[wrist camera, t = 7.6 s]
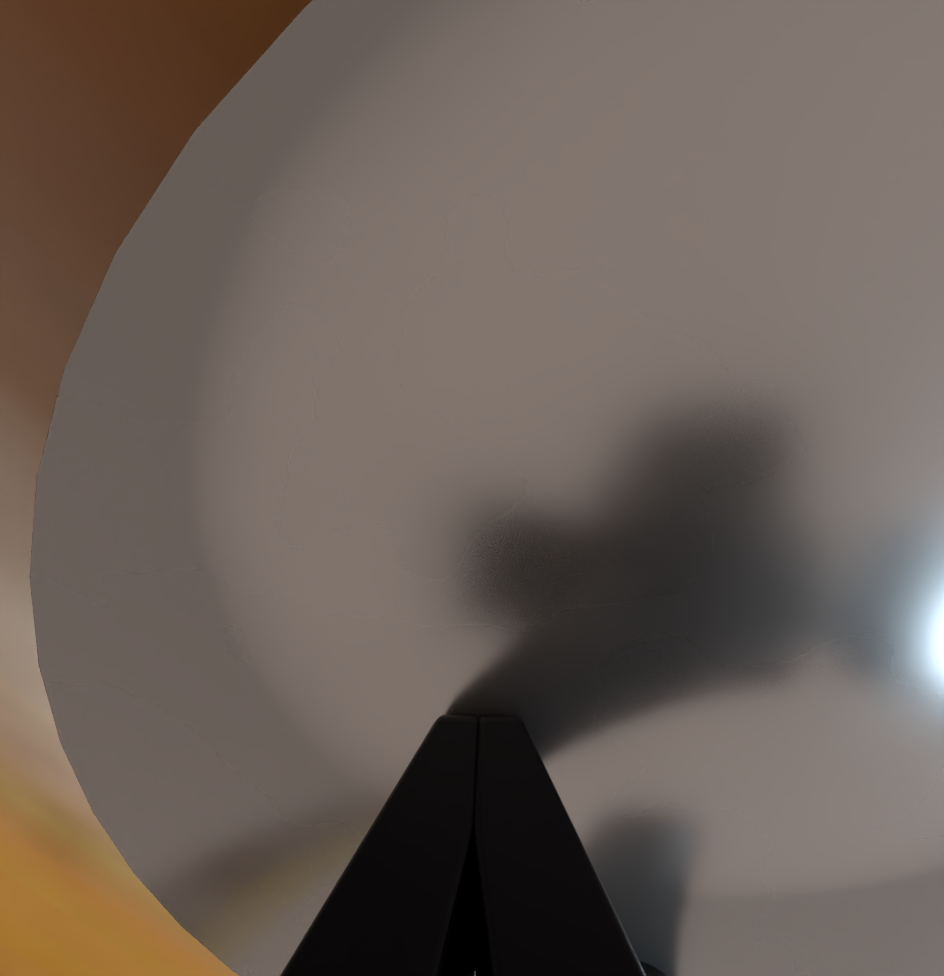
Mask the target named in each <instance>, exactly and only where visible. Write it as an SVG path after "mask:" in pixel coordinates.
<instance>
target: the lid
mask: <svg viewBox="0 0 944 976" xmlns="http://www.w3.org/2000/svg"><path fill="white" fill-rule="evenodd" d="M30 585H31V595H32V604H33V614H34V623H35V633H36V643H37V652H38V662H39V668H40V671H41V675H42V678H43V682H44V685H45V689H46V692H47V696H48V699H49V703H50V706H51V710H52V714H53V717H54V721H55V724H56V728H57V731H58V735H59V738H60V742H61V745H62V747H63V749H64V751H65V753H66V755H67V758H68V760H69V762H70V764H71V766H72V768H73V770H74V772H75V775H76V777H77V779H78V781H79V783H80V785H81V787H82V789H83V792H84V794H85V796H86V798H87V800H88V802H89V804H90V807H91V809H92V811H93V813H94V814H95V816H96V817H97V819H98V820H99V822H100V823H101V825H102V826H103V828H104V829H105V831H106V832H107V834H108V835H109V837H110V838H111V840H112V841H113V843H114V844H115V846H116V847H117V849H118V850H119V852H120V853H121V855H122V856H123V858H124V859H125V861H126V862H127V864H128V865H129V867H130V868H131V870H132V871H133V873H134V874H135V875H136V876H137V877H138V878H139V879H140V881H141V882H142V883H143V884H144V885H145V886H146V887H147V888H148V890H149V891H150V892H151V893H152V894H153V895H154V896H155V897H156V898H157V900H158V901H159V902H160V903H161V904H162V905H163V906H164V907H165V909H166V910H167V911H168V912H169V913H170V914H171V915H172V916H173V918H174V919H175V920H176V921H177V922H178V923H179V924H180V925H181V926H182V927H183V928H184V929H185V930H186V931H187V932H189V933H190V934H191V935H192V936H193V937H194V938H195V939H197V940H198V941H199V942H200V943H201V944H202V945H204V946H205V947H206V948H207V949H208V950H209V951H210V952H212V953H213V954H214V955H215V956H216V957H217V958H218V959H220V960H221V961H222V962H223V963H224V964H225V965H226V966H228V967H229V968H230V969H231V970H232V971H233V972H235V973H236V974H238V975H239V976H280V975H281V973H282V971H283V970H284V968H285V967H286V965H287V963H288V962H289V960H290V958H291V957H292V955H293V953H294V952H295V950H296V949H297V947H298V945H299V944H300V942H301V940H302V939H303V937H304V935H305V934H306V932H307V930H308V929H309V927H310V926H311V924H312V922H313V921H314V919H315V917H316V916H317V914H318V912H319V911H320V909H321V907H322V906H323V904H324V903H325V901H326V899H327V898H328V896H329V894H330V893H331V891H332V889H333V888H334V886H335V884H336V883H337V881H338V880H339V878H340V876H341V875H342V873H343V871H344V870H345V868H346V866H347V865H348V863H349V861H350V860H351V858H352V857H353V855H354V853H355V852H356V850H357V848H358V847H359V845H360V843H361V842H362V840H363V838H364V837H365V835H366V834H367V832H368V830H369V829H370V827H371V825H372V824H373V822H374V820H375V819H376V817H377V815H378V814H379V812H380V811H381V809H382V807H383V806H384V804H385V802H386V801H387V799H388V797H389V796H390V794H391V792H392V791H393V789H394V788H395V786H396V784H397V783H398V781H399V779H400V778H401V776H402V774H403V773H404V771H405V770H406V768H407V766H408V765H409V763H410V761H411V760H412V758H413V756H414V755H415V753H416V751H417V750H418V748H419V747H420V745H421V743H422V742H423V740H424V738H425V737H426V735H427V733H428V732H429V730H430V728H431V727H432V725H433V724H434V722H435V721H436V719H437V718H438V717H439V716H441V715H444V714H458V715H477V716H478V717H482V716H484V715H502V716H517V717H519V718H520V719H521V720H522V721H523V722H524V724H525V726H526V728H527V730H528V732H529V734H530V736H531V738H532V740H533V743H534V745H535V747H536V749H537V751H538V753H539V755H540V757H541V759H542V761H543V763H544V765H545V767H546V769H547V771H548V773H549V776H550V778H551V780H552V782H553V784H554V786H555V788H556V790H557V792H558V794H559V796H560V798H561V800H562V802H563V804H564V806H565V809H566V811H567V813H568V815H569V817H570V819H571V821H572V823H573V825H574V827H575V829H576V831H577V833H578V835H579V837H580V839H581V842H582V844H583V846H584V848H585V850H586V852H587V854H588V856H589V858H590V860H591V862H592V864H593V866H594V868H595V870H596V872H597V875H598V877H599V879H600V881H601V883H602V885H603V887H604V889H605V891H606V893H607V895H608V897H609V899H610V901H611V903H612V905H613V907H614V910H615V912H616V914H617V916H618V918H619V920H620V922H621V924H622V926H623V928H624V930H625V932H626V934H627V936H628V938H629V940H630V943H631V945H632V947H633V949H634V951H635V953H636V955H637V957H638V959H639V961H640V963H641V965H642V967H643V969H644V971H645V973H646V976H944V0H312V1H311V2H310V3H309V4H308V5H306V6H305V8H304V9H303V10H302V11H301V12H300V13H299V14H298V15H297V17H296V18H295V19H294V20H293V21H292V22H291V23H290V24H289V26H288V27H287V28H286V29H285V30H284V31H283V32H282V33H281V34H280V36H279V37H278V38H277V39H276V40H275V41H274V42H273V43H272V45H271V46H270V47H269V48H268V49H267V50H266V51H265V52H264V54H263V55H262V56H261V57H260V58H259V59H258V60H257V61H256V63H255V64H254V65H253V66H252V67H251V68H250V69H249V70H248V72H247V73H246V74H245V75H244V76H243V77H242V78H241V79H240V80H239V82H238V83H237V84H236V85H235V86H234V87H233V88H232V89H231V91H230V92H229V93H228V94H227V95H226V96H225V97H224V98H223V100H222V101H221V102H220V103H219V104H218V105H217V106H216V107H215V109H214V110H213V111H212V112H211V113H210V114H209V115H208V116H207V118H206V119H205V120H204V121H203V122H202V123H201V124H200V125H199V127H198V128H197V129H196V130H195V131H194V133H193V134H192V136H191V137H190V139H189V140H188V142H187V143H186V145H185V147H184V148H183V150H182V151H181V153H180V154H179V156H178V157H177V159H176V160H175V162H174V163H173V165H172V167H171V168H170V170H169V171H168V173H167V174H166V176H165V177H164V179H163V180H162V182H161V184H160V185H159V187H158V188H157V190H156V191H155V193H154V194H153V196H152V197H151V199H150V201H149V202H148V204H147V205H146V207H145V208H144V210H143V211H142V213H141V214H140V216H139V218H138V219H137V221H136V222H135V224H134V225H133V227H132V228H131V230H130V231H129V233H128V234H127V236H126V238H125V239H124V241H123V242H122V244H121V245H120V247H119V248H118V250H117V251H116V253H115V255H114V257H113V260H112V262H111V264H110V266H109V269H108V271H107V273H106V275H105V278H104V280H103V282H102V285H101V287H100V289H99V291H98V294H97V296H96V298H95V301H94V303H93V305H92V307H91V310H90V312H89V314H88V316H87V319H86V321H85V323H84V326H83V328H82V330H81V332H80V335H79V337H78V339H77V341H76V344H75V346H74V348H73V351H72V353H71V355H70V357H69V360H68V362H67V364H66V366H65V369H64V372H63V376H62V380H61V384H60V388H59V392H58V396H57V400H56V404H55V407H54V411H53V415H52V419H51V423H50V427H49V431H48V435H47V439H46V443H45V447H44V451H43V455H42V459H41V463H40V467H39V471H38V475H37V482H36V495H35V509H34V523H33V537H32V551H31V565H30ZM474 976H475V975H474Z"/></svg>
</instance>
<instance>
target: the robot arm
mask: <svg viewBox="0 0 944 976" xmlns="http://www.w3.org/2000/svg"><path fill="white" fill-rule="evenodd" d="M474 975H475V976H646V973H645V971H644V969H643V967H642V965H641V963H640V961H639V959H638V957H637V955H636V953H635V951H634V949H633V947H632V945H631V943H630V940H629V938H628V936H627V934H626V932H625V930H624V928H623V926H622V924H621V922H620V920H619V918H618V916H617V914H616V912H615V910H614V907H613V905H612V903H611V901H610V899H609V897H608V895H607V893H606V891H605V889H604V887H603V885H602V883H601V881H600V879H599V877H598V875H597V872H596V870H595V868H594V866H593V864H592V862H591V860H590V858H589V856H588V854H587V852H586V850H585V848H584V846H583V844H582V842H581V839H580V837H579V835H578V833H577V831H576V829H575V827H574V825H573V823H572V821H571V819H570V817H569V815H568V813H567V811H566V809H565V806H564V804H563V802H562V800H561V798H560V796H559V794H558V792H557V790H556V788H555V786H554V784H553V782H552V780H551V778H550V776H549V773H548V771H547V769H546V767H545V765H544V763H543V761H542V759H541V757H540V755H539V753H538V751H537V749H536V747H535V745H534V743H533V740H532V738H531V736H530V734H529V732H528V730H527V728H526V726H525V724H524V722H523V721H522V720H521V719H520V718H519V717H517V716H502V715H484V716H482V717H478V716H477V715H458V714H444V715H441V716H439V717H438V718H437V719H436V721H435V722H434V724H433V725H432V727H431V728H430V730H429V732H428V733H427V735H426V737H425V738H424V740H423V742H422V743H421V745H420V747H419V748H418V750H417V751H416V753H415V755H414V756H413V758H412V760H411V761H410V763H409V765H408V766H407V768H406V770H405V771H404V773H403V774H402V776H401V778H400V779H399V781H398V783H397V784H396V786H395V788H394V789H393V791H392V792H391V794H390V796H389V797H388V799H387V801H386V802H385V804H384V806H383V807H382V809H381V811H380V812H379V814H378V815H377V817H376V819H375V820H374V822H373V824H372V825H371V827H370V829H369V830H368V832H367V834H366V835H365V837H364V838H363V840H362V842H361V843H360V845H359V847H358V848H357V850H356V852H355V853H354V855H353V857H352V858H351V860H350V861H349V863H348V865H347V866H346V868H345V870H344V871H343V873H342V875H341V876H340V878H339V880H338V881H337V883H336V884H335V886H334V888H333V889H332V891H331V893H330V894H329V896H328V898H327V899H326V901H325V903H324V904H323V906H322V907H321V909H320V911H319V912H318V914H317V916H316V917H315V919H314V921H313V922H312V924H311V926H310V927H309V929H308V930H307V932H306V934H305V935H304V937H303V939H302V940H301V942H300V944H299V945H298V947H297V949H296V950H295V952H294V953H293V955H292V957H291V958H290V960H289V962H288V963H287V965H286V967H285V968H284V970H283V971H282V973H281V975H280V976H474Z"/></svg>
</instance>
